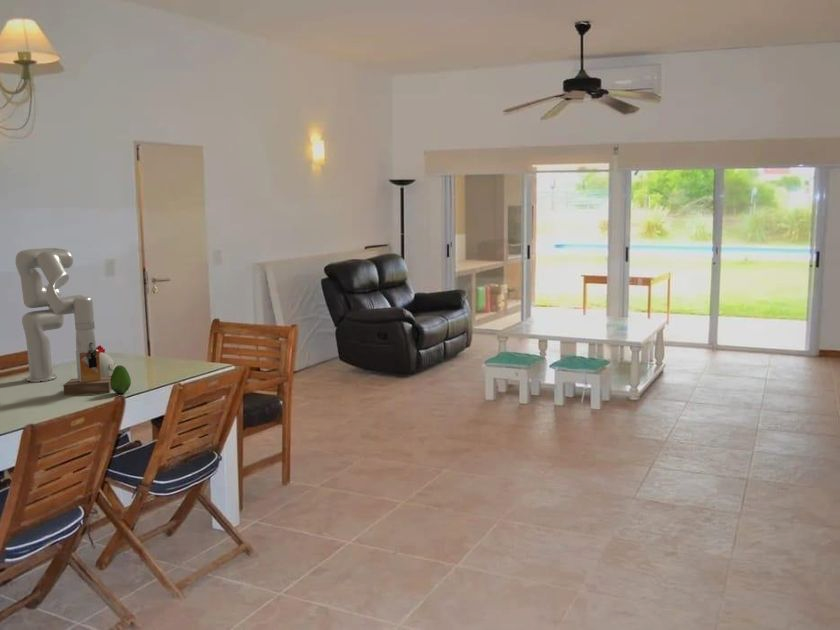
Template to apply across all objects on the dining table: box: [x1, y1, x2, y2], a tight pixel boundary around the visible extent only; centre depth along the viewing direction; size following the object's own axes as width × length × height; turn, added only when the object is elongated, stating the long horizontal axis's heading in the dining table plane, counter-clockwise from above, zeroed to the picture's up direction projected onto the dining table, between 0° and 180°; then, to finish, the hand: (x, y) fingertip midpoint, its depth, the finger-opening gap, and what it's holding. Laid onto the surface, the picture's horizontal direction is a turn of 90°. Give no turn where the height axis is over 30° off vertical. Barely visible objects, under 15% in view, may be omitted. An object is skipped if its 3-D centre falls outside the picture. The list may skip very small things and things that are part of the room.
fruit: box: [110, 365, 132, 394], centre depth 332 cm, size 8×8×12 cm
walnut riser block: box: [63, 377, 113, 396], centre depth 339 cm, size 12×18×5 cm, turn 99°
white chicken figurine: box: [96, 345, 117, 377], centre depth 363 cm, size 14×14×15 cm
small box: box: [75, 349, 101, 383], centre depth 338 cm, size 8×6×13 cm
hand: (88, 365), depth 338 cm, fingers open, 9 cm apart
